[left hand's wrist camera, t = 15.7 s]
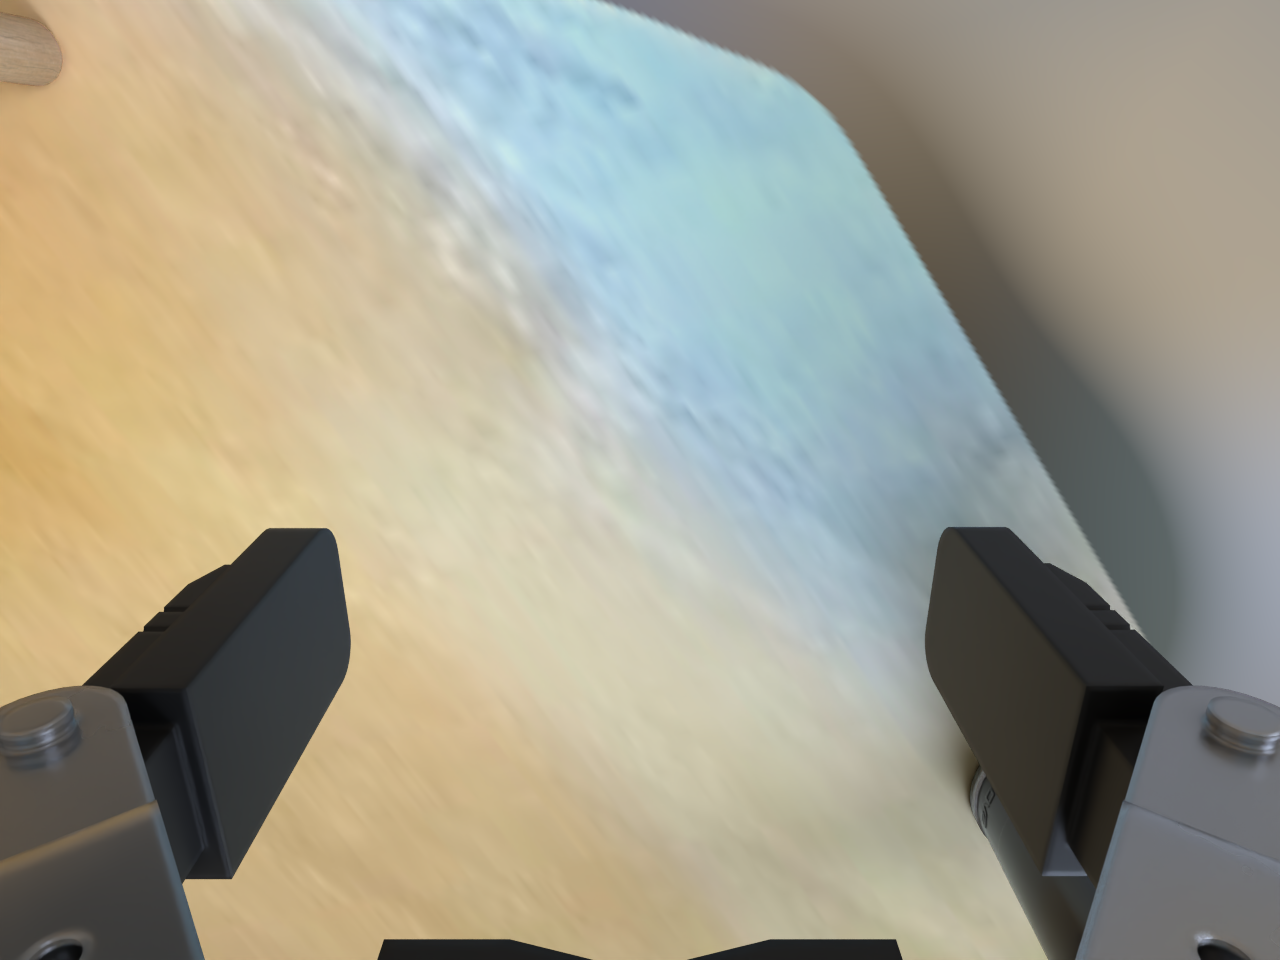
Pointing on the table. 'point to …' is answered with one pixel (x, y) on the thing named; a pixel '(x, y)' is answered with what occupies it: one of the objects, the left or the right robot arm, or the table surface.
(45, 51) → the planter
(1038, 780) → the left robot arm
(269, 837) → the table surface
